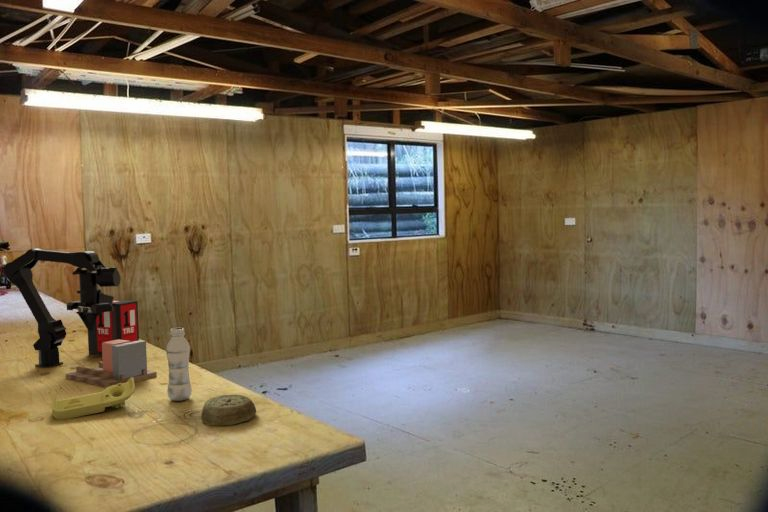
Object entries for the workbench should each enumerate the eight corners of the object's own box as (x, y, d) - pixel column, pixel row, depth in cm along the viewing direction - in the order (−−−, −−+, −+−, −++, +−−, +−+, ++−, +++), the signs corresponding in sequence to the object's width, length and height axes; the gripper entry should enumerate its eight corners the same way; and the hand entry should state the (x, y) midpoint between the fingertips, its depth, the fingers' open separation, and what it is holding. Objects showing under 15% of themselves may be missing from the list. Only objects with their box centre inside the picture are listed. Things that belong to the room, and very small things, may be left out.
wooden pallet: (66, 378, 195) (65, 368, 195) (111, 368, 208) (110, 358, 208) (111, 388, 182) (111, 377, 182) (156, 376, 196) (156, 366, 195)
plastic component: (51, 413, 151) (52, 387, 159) (56, 435, 154) (56, 408, 162) (136, 396, 159) (133, 373, 167) (138, 417, 163) (135, 393, 170)
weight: (227, 431, 142) (226, 410, 142) (188, 422, 150) (188, 402, 149) (267, 415, 154) (266, 396, 154) (229, 407, 161) (229, 389, 161)
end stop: (113, 379, 186) (111, 345, 186) (141, 372, 195) (140, 340, 194) (119, 380, 185) (117, 346, 184) (147, 373, 193) (146, 340, 193)
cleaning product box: (139, 352, 234) (137, 301, 233) (121, 357, 225) (119, 304, 224) (107, 349, 240) (105, 299, 239) (88, 354, 232) (86, 302, 231)
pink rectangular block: (103, 373, 192) (101, 342, 192) (120, 369, 197) (118, 339, 197) (114, 375, 189) (113, 344, 189) (131, 371, 194) (130, 340, 194)
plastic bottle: (169, 404, 164) (166, 331, 163) (166, 398, 170) (163, 328, 169) (194, 401, 167) (191, 329, 166) (189, 395, 173) (187, 326, 172)
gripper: (125, 285, 214) (127, 329, 215) (94, 283, 224) (95, 325, 225) (96, 289, 205) (98, 334, 206) (64, 286, 215) (66, 330, 216)
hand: (90, 331), depth 213 cm, fingers closed
